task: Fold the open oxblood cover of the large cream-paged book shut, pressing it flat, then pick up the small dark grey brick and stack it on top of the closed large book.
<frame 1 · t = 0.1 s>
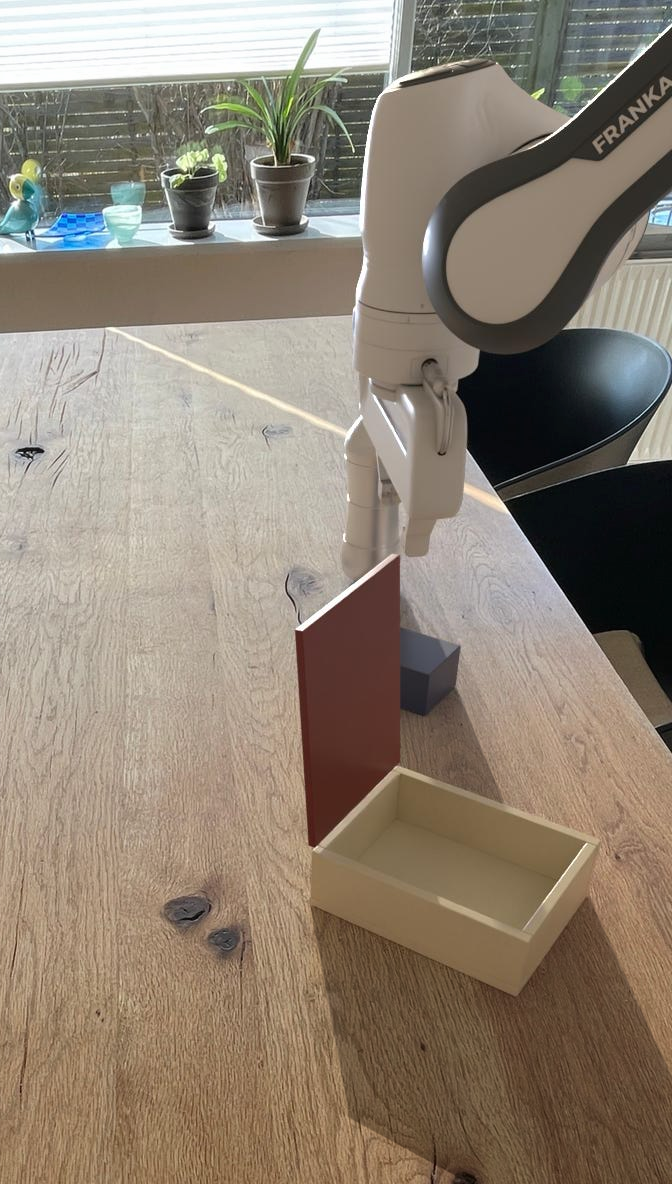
hand: (401, 526, 89), 20 cm above the table, tool pointing down, fingers open, 8 cm apart
cover: (353, 703, 80), point 14 cm above the table, hinge at 95.0°
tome: (448, 899, 85), on the table
plastic bottle: (368, 578, 125), on the table
dark grey brick: (393, 685, 108), on the table
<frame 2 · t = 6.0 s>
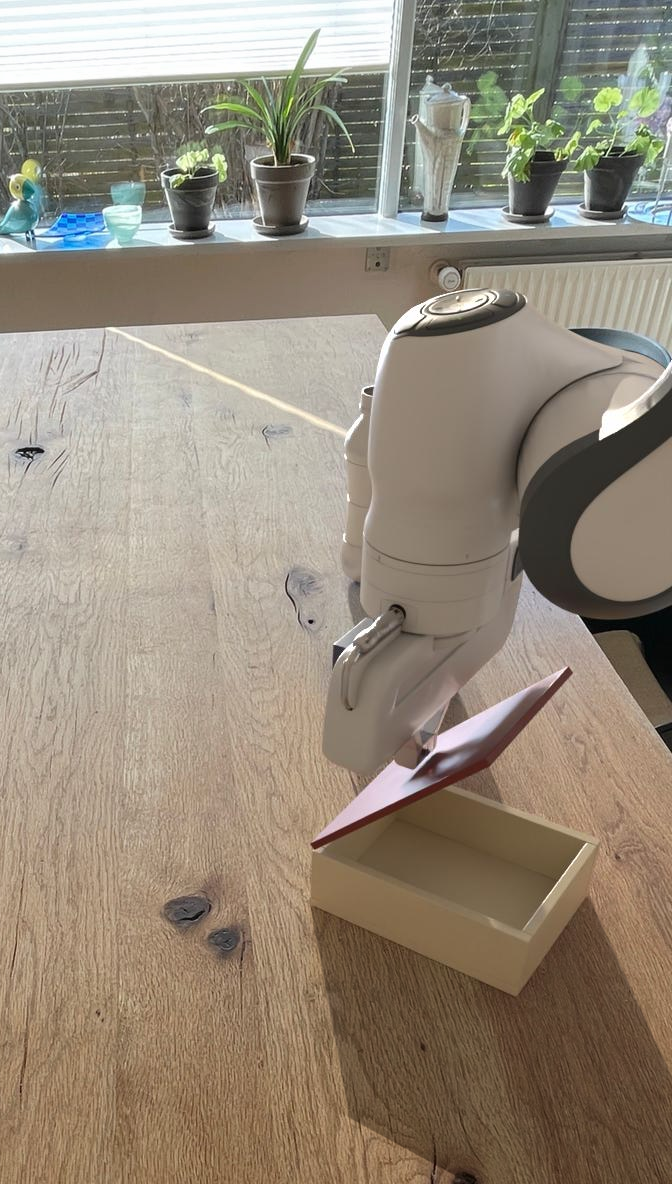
hand: (414, 757, 80), 11 cm above the table, tool pointing down, fingers closed
cover: (436, 761, 79), point 12 cm above the table, hinge at 45.6°
everything else where it was.
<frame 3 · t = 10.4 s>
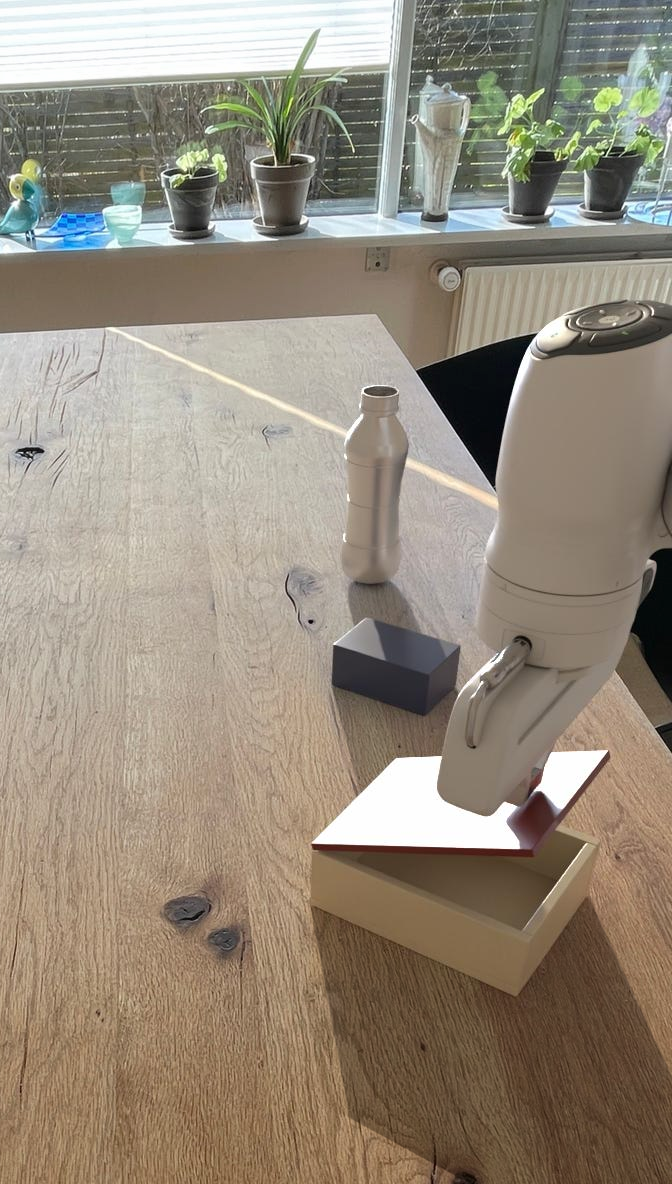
hand: (519, 793, 76), 12 cm above the table, tool pointing down, fingers closed
cover: (456, 801, 79), point 9 cm above the table, hinge at 23.5°, touching gripper
everything else where it was.
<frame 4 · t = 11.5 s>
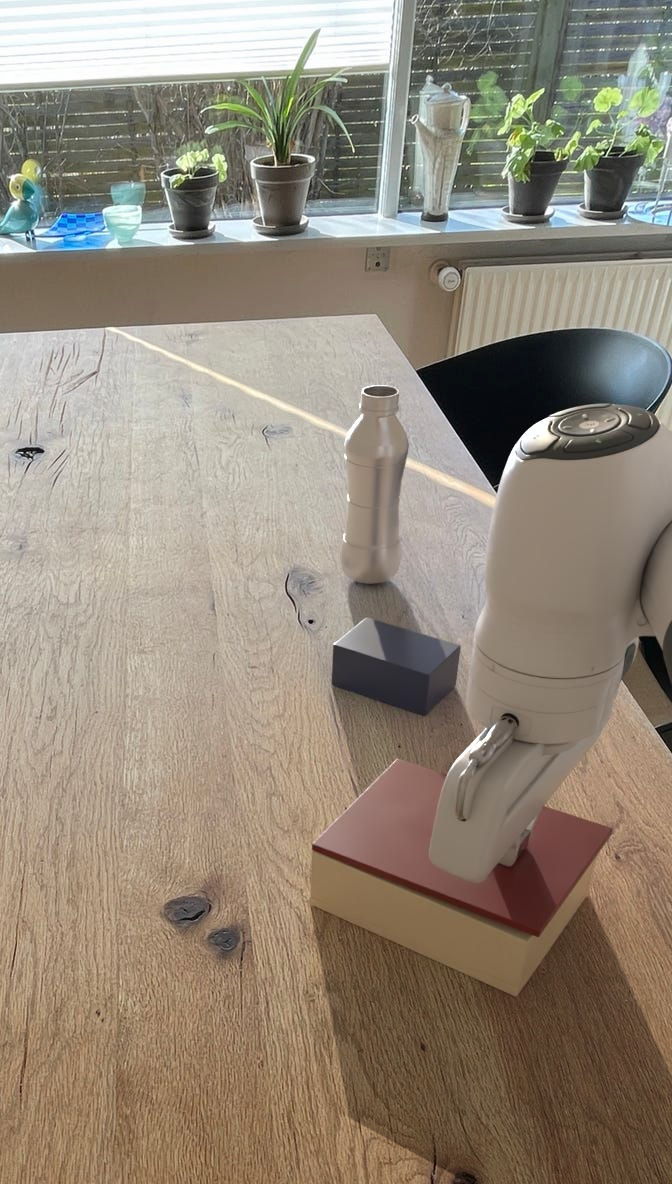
hand: (509, 852, 79), 7 cm above the table, tool pointing down, fingers closed, pressing on cover
cover: (461, 839, 81), point 6 cm above the table, hinge at 2.3°, touching gripper
everything else where it was.
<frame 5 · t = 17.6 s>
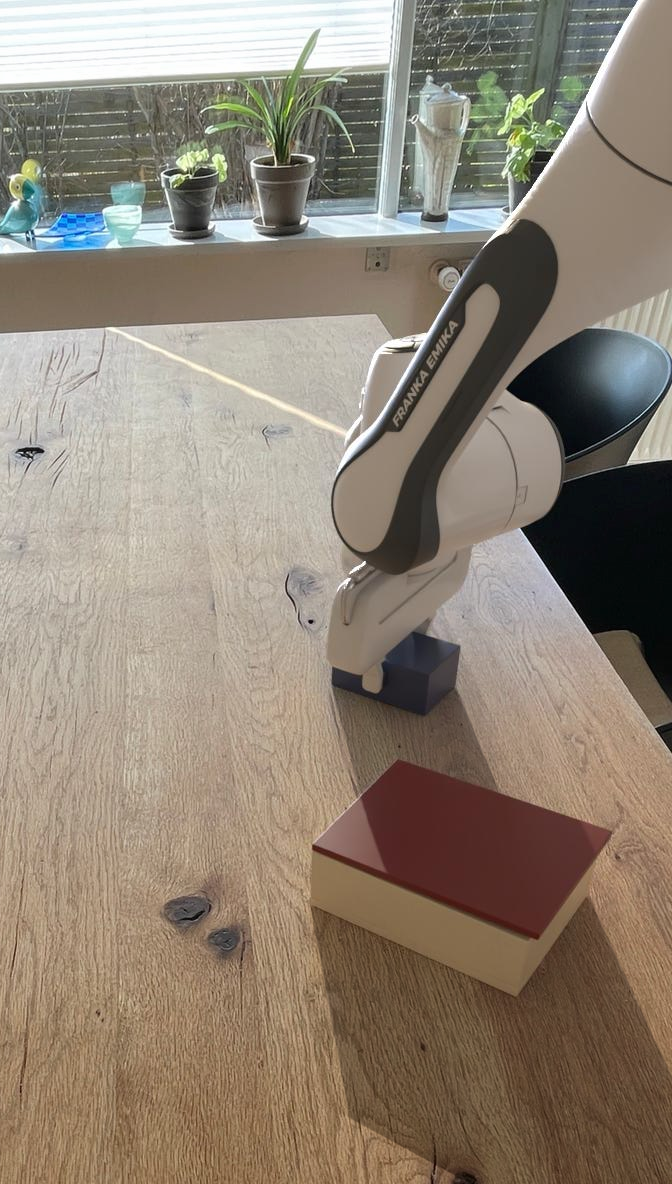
hand: (394, 670, 107), 2 cm above the table, tool pointing down, fingers closed on dark grey brick, 6 cm apart
cover: (460, 840, 81), point 6 cm above the table, hinge at 1.5°
dark grey brick: (393, 685, 108), on the table, touching gripper
everything else where it was.
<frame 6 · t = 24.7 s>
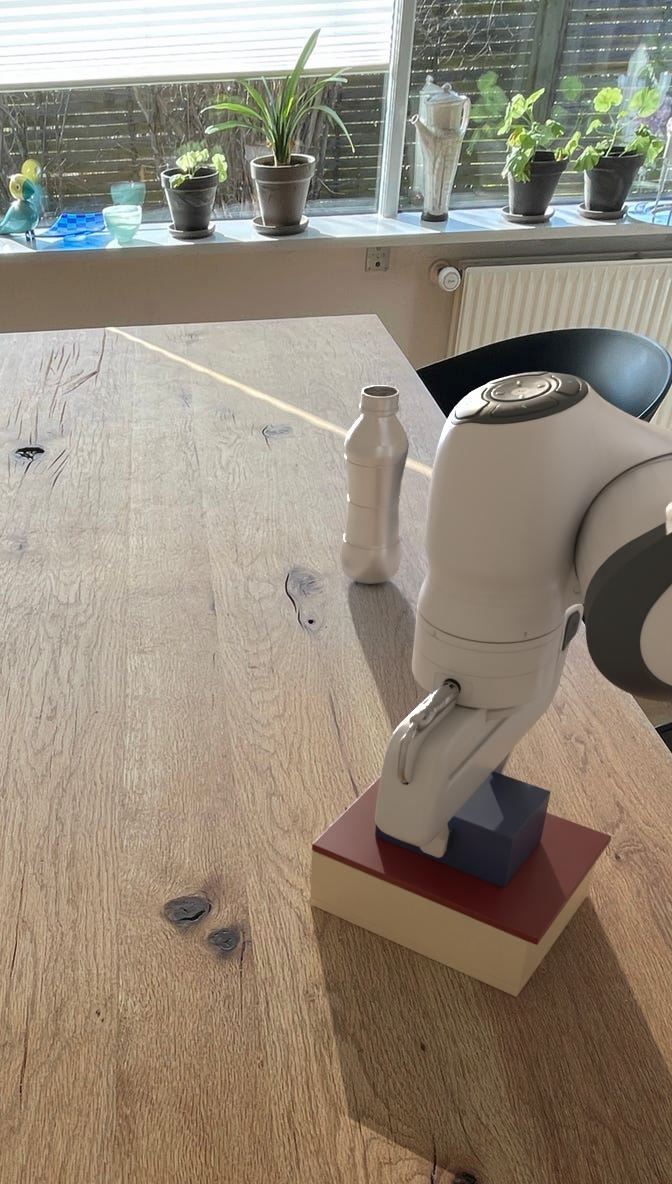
hand: (460, 820, 80), 8 cm above the table, tool pointing down, fingers closed on dark grey brick, 6 cm apart
cover: (460, 843, 81), point 6 cm above the table, hinge at 0.0°, touching dark grey brick
dark grey brick: (457, 838, 81), point 6 cm above the table, touching cover, gripper
everything else where it was.
when the fingers open (8 cm above the table, at t = 25.0 s): dark grey brick stays where it is, resting on cover.
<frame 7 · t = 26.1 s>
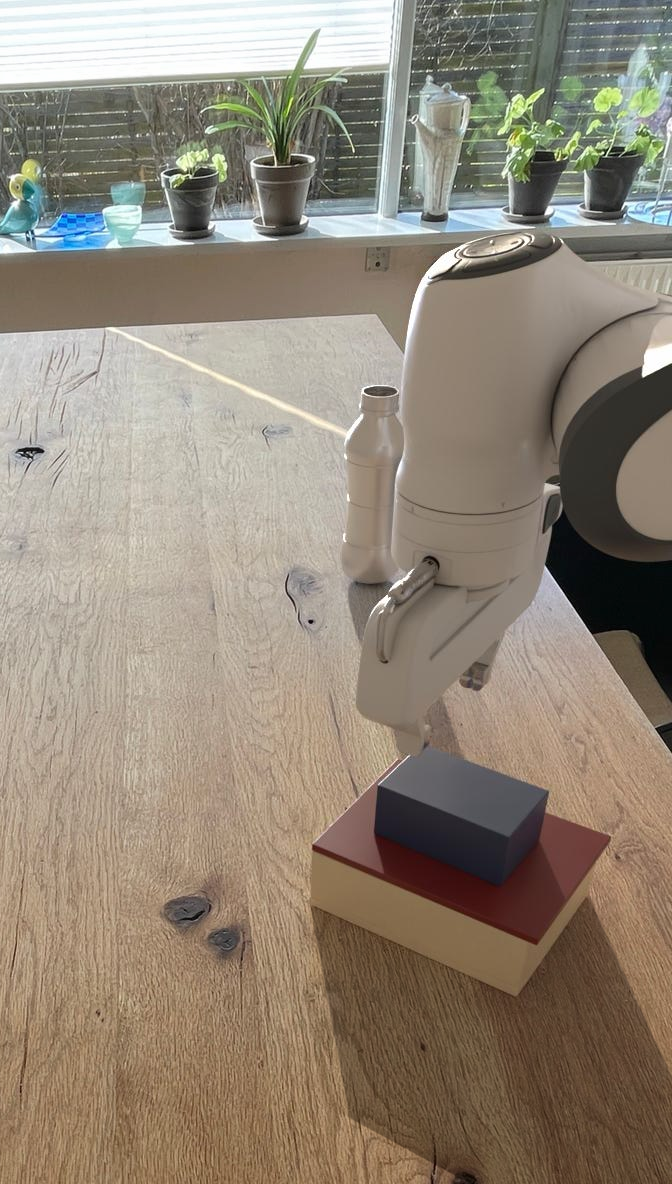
hand: (444, 715, 79), 14 cm above the table, tool pointing down, fingers open, 8 cm apart
dark grey brick: (455, 836, 81), point 6 cm above the table, touching cover
everything else where it was.
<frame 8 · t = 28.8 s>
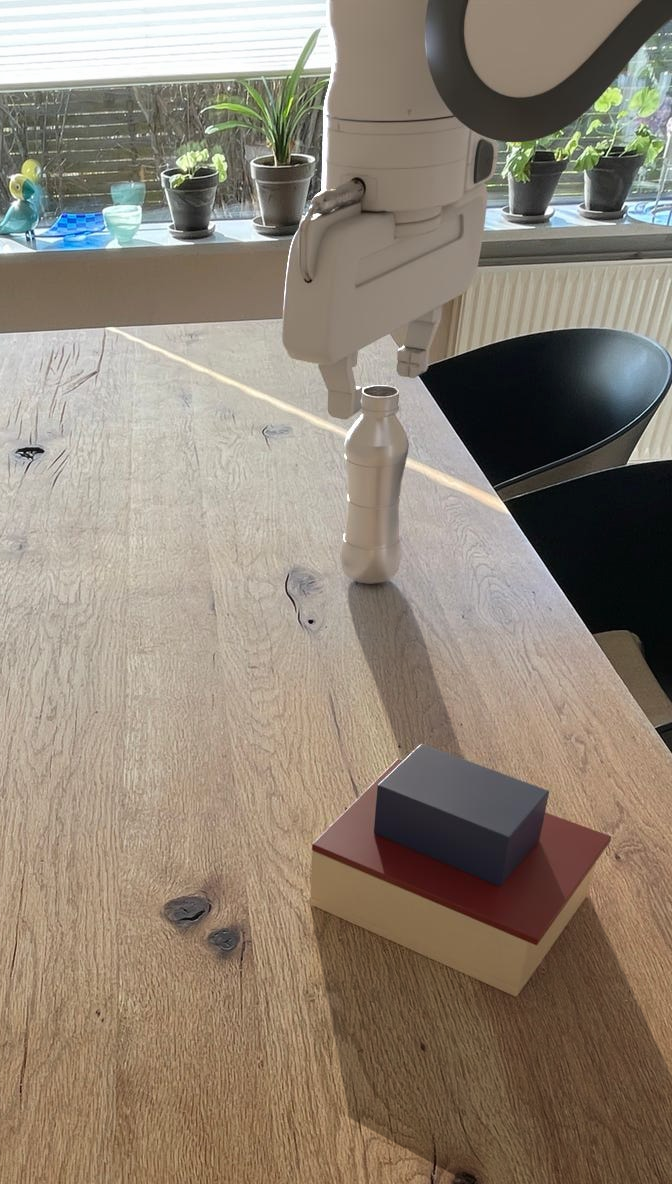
hand: (379, 394, 79), 31 cm above the table, tool pointing down, fingers open, 8 cm apart
nothing on the table moved.
at the end: cover at +0° (first picture: +95°); dark grey brick inside the target area on the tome (0.2 cm from its centre), point 5.9 cm above the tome's base; the gripper is holding nothing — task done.
